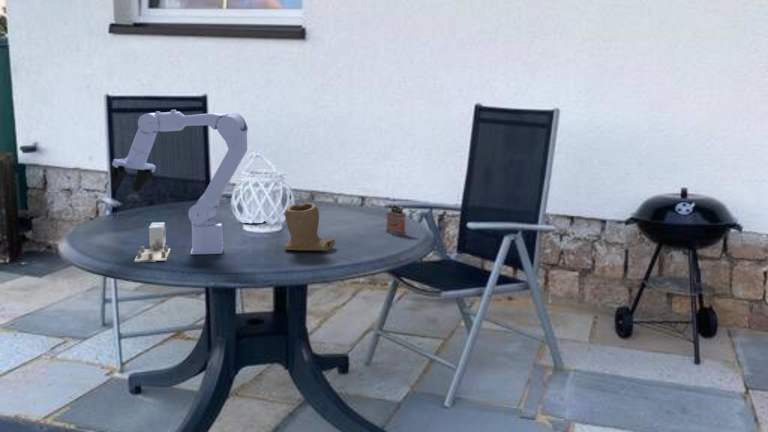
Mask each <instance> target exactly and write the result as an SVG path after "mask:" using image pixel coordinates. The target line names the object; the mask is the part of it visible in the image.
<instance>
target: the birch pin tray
mask: <svg viewBox="0 0 768 432" xmlns="http://www.w3.org/2000/svg"><path fill="white" fill-rule="evenodd" d="M139 249H140V250H139V251H137V253H136V256H135V259H134V261H133V262H134V263H154V262H155V263H157V262H156V261H165V262H167V260H168V258H169V255H170V252H171V251H172V250H171V248H170V247H169V245H165V246H164V248H163V249H157V244H154V245H153V249H150V248H145V246H143V245H142V246H140V248H139ZM170 250H171V251H170ZM167 257H168V258H167Z"/></svg>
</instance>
